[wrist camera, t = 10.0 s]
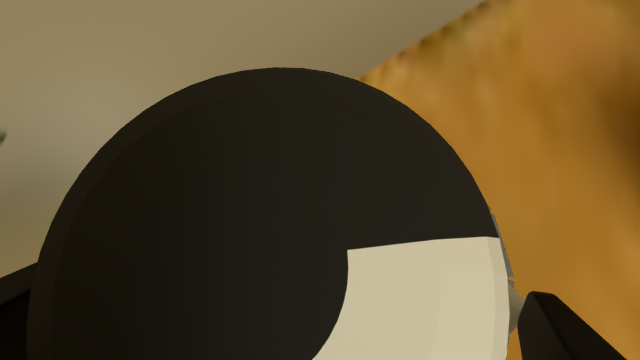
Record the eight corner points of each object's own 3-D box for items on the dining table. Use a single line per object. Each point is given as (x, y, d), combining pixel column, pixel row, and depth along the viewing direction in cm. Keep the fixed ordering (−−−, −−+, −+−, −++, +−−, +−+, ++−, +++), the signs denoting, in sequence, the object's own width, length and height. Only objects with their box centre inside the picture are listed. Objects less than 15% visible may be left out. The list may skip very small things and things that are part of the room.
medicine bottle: (223, 278, 16) (-141, 227, 5) (346, 178, 17) (293, -81, 5) (323, 430, 14) (85, 1076, 2) (462, 305, 14) (804, 326, 3)
